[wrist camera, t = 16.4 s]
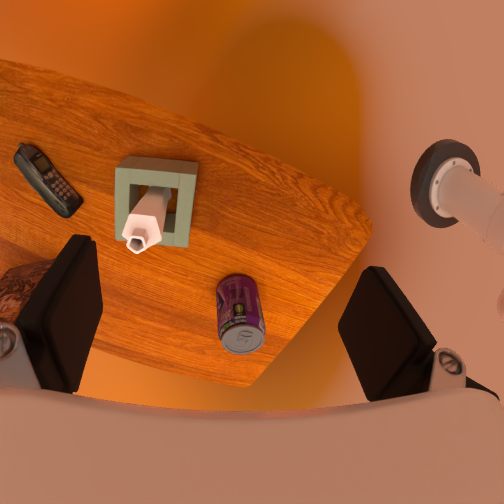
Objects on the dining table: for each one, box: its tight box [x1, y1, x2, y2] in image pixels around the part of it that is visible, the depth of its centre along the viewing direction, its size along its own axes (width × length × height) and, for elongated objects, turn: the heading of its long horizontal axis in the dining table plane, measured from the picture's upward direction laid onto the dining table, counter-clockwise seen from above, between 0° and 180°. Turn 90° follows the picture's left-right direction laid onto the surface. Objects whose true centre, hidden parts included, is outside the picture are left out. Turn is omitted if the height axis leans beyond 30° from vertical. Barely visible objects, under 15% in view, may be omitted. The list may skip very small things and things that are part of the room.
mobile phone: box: [14, 143, 83, 218], centre depth 35 cm, size 5×3×15 cm
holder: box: [115, 156, 199, 248], centre depth 39 cm, size 10×10×6 cm
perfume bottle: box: [122, 186, 172, 254], centre depth 35 cm, size 5×4×15 cm
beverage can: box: [216, 276, 266, 354], centre depth 47 cm, size 7×7×12 cm
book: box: [0, 259, 55, 325], centre depth 36 cm, size 16×6×25 cm, turn 97°
